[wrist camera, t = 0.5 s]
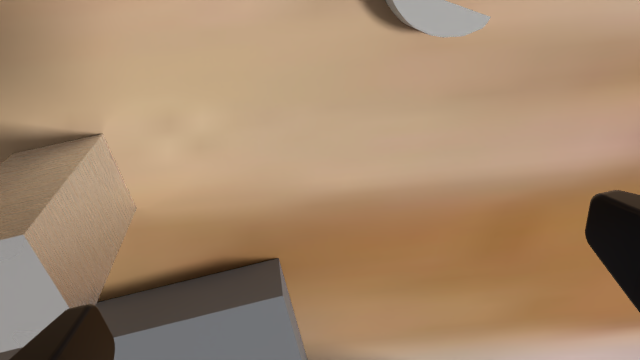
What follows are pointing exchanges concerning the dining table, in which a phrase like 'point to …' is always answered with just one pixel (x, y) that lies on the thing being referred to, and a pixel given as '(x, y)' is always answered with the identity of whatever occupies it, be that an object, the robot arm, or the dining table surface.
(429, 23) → the adjustable wrench
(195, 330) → the socket plate
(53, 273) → the steel peg
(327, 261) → the dining table surface
